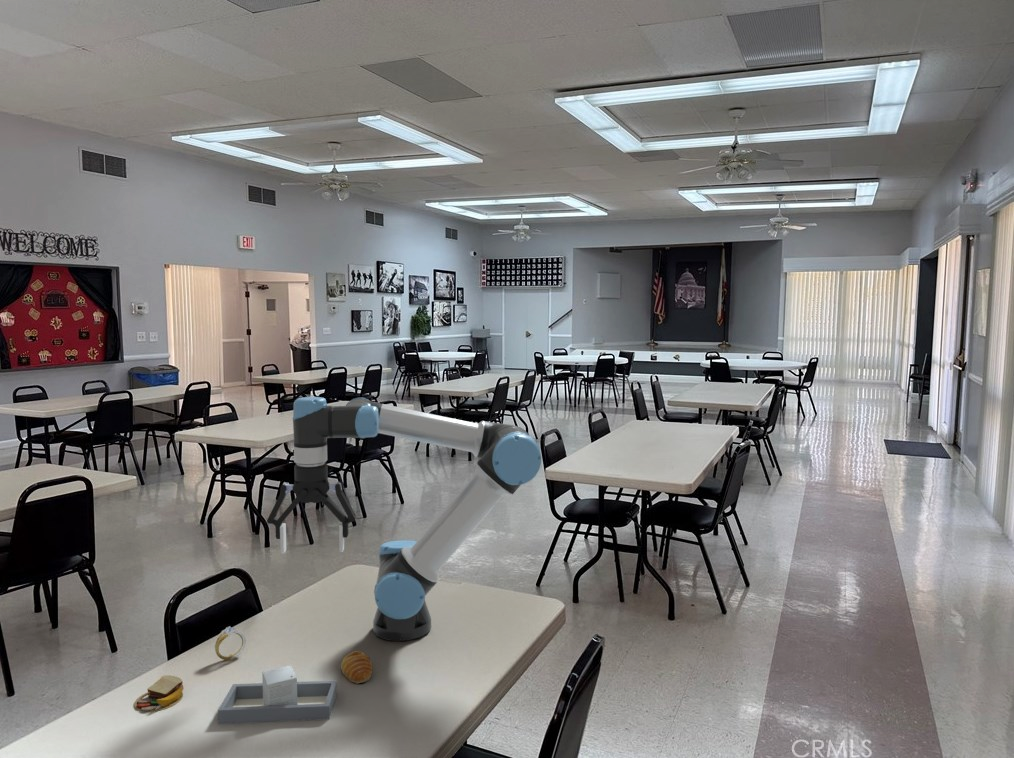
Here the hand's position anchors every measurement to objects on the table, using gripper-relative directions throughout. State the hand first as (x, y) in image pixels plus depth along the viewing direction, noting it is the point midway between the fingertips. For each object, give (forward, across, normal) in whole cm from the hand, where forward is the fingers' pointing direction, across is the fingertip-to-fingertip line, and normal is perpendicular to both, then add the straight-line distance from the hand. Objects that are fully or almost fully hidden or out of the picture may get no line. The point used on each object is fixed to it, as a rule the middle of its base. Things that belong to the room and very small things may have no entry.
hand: (312, 551), depth 166 cm
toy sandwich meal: (+27, +30, +16) cm, 43 cm away
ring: (+27, +20, -1) cm, 34 cm away
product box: (+26, +3, +22) cm, 34 cm away
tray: (+27, +3, +22) cm, 35 cm away
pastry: (+28, -10, +11) cm, 31 cm away
